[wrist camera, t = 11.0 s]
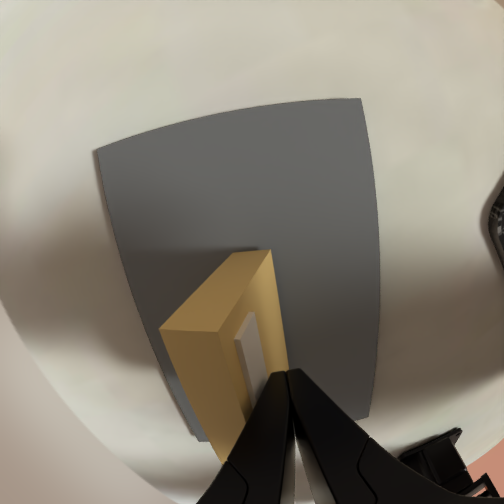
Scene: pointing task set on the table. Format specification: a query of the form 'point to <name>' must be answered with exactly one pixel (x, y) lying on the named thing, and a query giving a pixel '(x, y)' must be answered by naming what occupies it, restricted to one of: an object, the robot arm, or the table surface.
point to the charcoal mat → (259, 229)
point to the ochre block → (228, 344)
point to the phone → (498, 225)
